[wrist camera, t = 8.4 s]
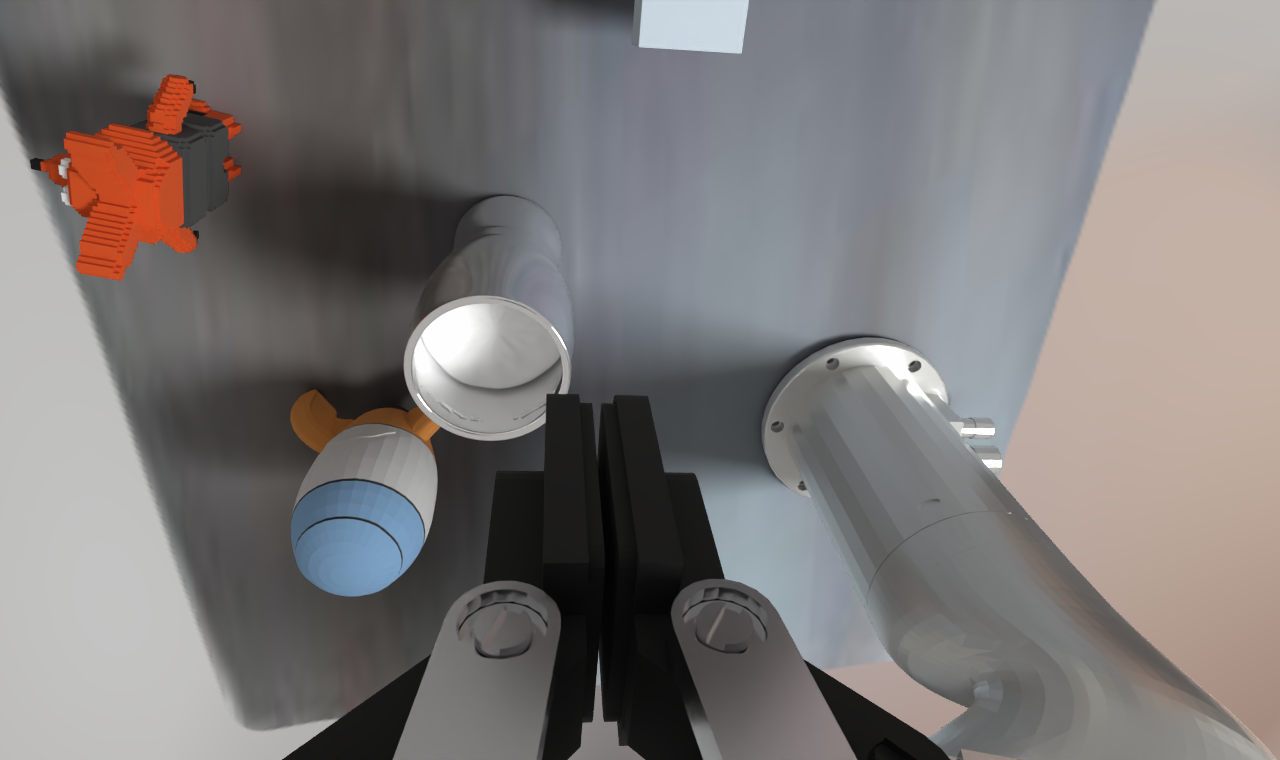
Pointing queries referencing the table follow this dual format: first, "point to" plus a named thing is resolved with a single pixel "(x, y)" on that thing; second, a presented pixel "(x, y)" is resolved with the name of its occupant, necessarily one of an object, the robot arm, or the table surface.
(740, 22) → the lever
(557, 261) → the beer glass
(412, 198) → the table surface
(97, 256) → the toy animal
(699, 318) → the table surface
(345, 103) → the table surface
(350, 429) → the toy rocket
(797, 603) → the table surface
